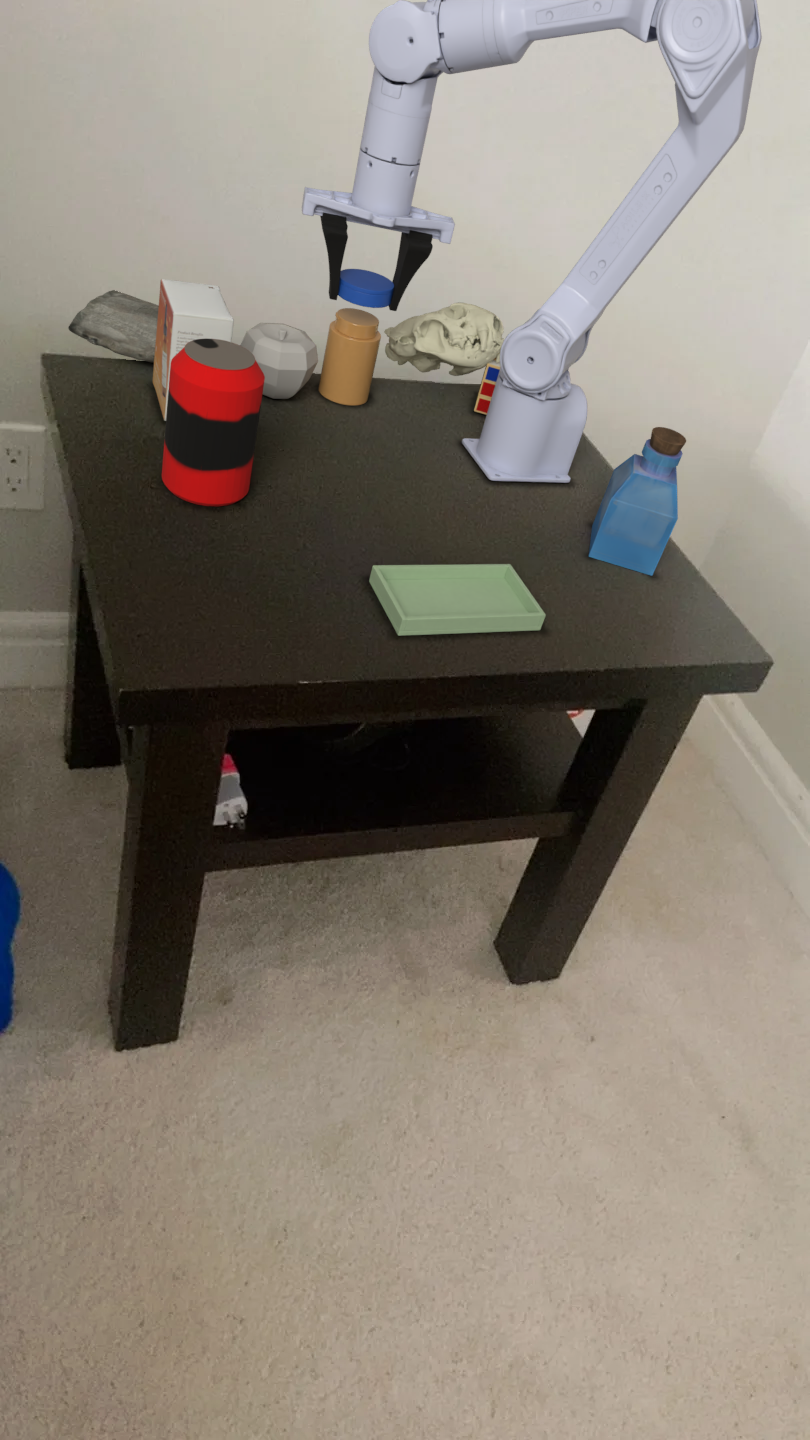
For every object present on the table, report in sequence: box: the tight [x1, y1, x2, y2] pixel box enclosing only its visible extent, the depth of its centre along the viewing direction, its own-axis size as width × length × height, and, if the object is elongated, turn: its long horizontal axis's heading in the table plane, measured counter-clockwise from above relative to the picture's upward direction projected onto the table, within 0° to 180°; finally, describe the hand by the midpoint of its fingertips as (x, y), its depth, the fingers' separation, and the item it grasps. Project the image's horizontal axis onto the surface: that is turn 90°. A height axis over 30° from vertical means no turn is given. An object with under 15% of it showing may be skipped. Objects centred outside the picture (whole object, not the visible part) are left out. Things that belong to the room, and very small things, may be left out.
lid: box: [337, 268, 394, 309], centre depth 105 cm, size 6×6×2 cm
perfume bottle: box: [588, 426, 687, 577], centre depth 96 cm, size 6×6×12 cm
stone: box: [67, 289, 159, 364], centre depth 109 cm, size 11×4×15 cm
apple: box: [239, 322, 319, 400], centre depth 107 cm, size 8×8×7 cm
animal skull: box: [383, 301, 505, 377], centre depth 116 cm, size 15×9×8 cm
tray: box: [368, 563, 547, 637], centre depth 86 cm, size 13×7×2 cm, turn 110°
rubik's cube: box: [473, 358, 501, 416], centre depth 117 cm, size 6×6×6 cm
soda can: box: [161, 339, 265, 508], centre depth 88 cm, size 8×8×12 cm
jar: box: [317, 307, 382, 406], centre depth 110 cm, size 5×5×8 cm
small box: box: [152, 278, 235, 422], centre depth 99 cm, size 8×6×10 cm
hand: (362, 301), depth 106 cm, fingers closed on lid, 5 cm apart
